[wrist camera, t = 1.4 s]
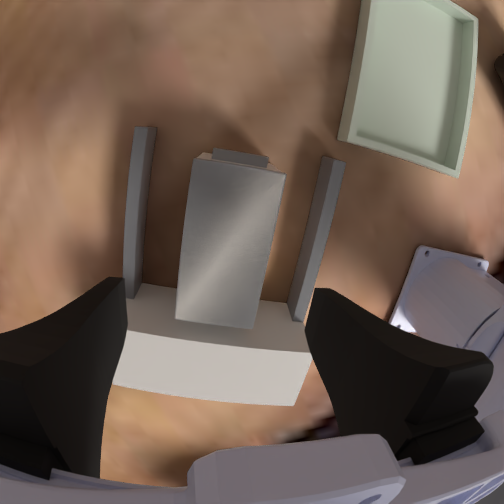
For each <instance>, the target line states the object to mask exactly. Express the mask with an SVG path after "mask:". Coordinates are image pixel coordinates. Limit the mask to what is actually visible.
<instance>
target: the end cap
mask: <svg viewBox="0 0 504 504" xmlns="http://www.w3.org/2000/svg"><path fill="white" fill-rule="evenodd" d="M495 69H496V71H497V73H498V74H499V76H500V78H501V80H502V82H503V84H504V54H503V55H502V56H499V57H498V58H497V59H496V61H495Z"/></svg>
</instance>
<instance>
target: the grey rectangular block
mask: <svg viewBox="0 0 504 504" xmlns="http://www.w3.org/2000/svg"><path fill="white" fill-rule="evenodd" d="M268 159H269V157H267V156H262V155H256V154H251V153H245V152H239V151H233V150H227V149H220V148H213V153H212V154H211V153H204V152H203V153H202V154H201V155H199V156H198V157H197V158H194V159H193V165H192V171H191V178H190V185H189V192H188V199H187V206H186V214H185V222H184V230H183V238H182V247H181V256H180V265H179V275H178V286H177V297H176V308H175V319H178V320H184V321H191V322H198V323H205V324H213V325H220V326H228V327H236V328H245V329H253V325H254V321H255V317H256V312H257V308H258V303H259V299H260V295H261V290H262V286H263V281H264V277H265V272H266V268H267V263H268V259H269V254H270V250H271V245H272V241H273V236H274V231H275V227H276V222H277V218H278V213H279V208H280V204H281V199H282V194H283V189H284V185H285V180H286V175H287V174H286V173H283V172H281V171H280V170H279V169H277V168H276V167H275V166H274V165H272V164H270V163H268Z"/></svg>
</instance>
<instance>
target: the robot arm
mask: <svg viewBox="0 0 504 504" xmlns="http://www.w3.org/2000/svg"><path fill="white" fill-rule="evenodd" d="M426 251H427V253H426V254H425V252H426ZM488 265H489V263H488V261H487V260H485V259H481V258H477V257H472V256H468V255H464V254H459V253H455V252H450V251H446V250H441V249H437V248H432V247H428V246H423V245H421V246H419V247H418V248H417V249H416V252H415V255H414V258H413V261H412V263H411V266H410V269H409V272H408V275H407V277H406V280H405V283H404V285H403V288H402V291H401V293H400V296H399V298H398V301H397V303H396V306H395V308H394V311H393V313H392V315H391V318H390V320H389V322H388V323H387V322H386V321H384V320H382V319H380V318H378V317H377V316H375V315H373V314H372V313H370V312H368V311H367V310H365V309H363V308H362V307H360V306H359V305H357V304H355V303H354V302H352V301H351V300H349V299H348V298H346V297H344V296H343V295H341V294H339V293H338V292H336V291H334V290H332V289H330V288H315V290H314V294H313V298H312V302H311V306H310V310H309V315H308V318H307V322H306V326H305V330H304V331H305V335H306V339H307V343H308V347H309V350H310V353H311V356H312V358H313V360H314V362H315V365H316V367H317V369H318V372H319V374H320V376H321V378H322V381H323V383H324V385H325V387H326V390H327V392H328V394H329V397H330V400H331V402H332V406H333V409H334V413H335V416H336V419H337V423H338V427H339V431H340V435H341V437H337V438H330V439H323V440H316V441H308V442H299V443H289V444H277V445H262V446H243V447H236V448H230V449H223V450H217V451H215V452H212V453H210V454H208V455H206V456H203V457H201V458H199V459H197V460H196V461H194V462H193V464H192V466H191V467H190V469H189V471H188V472H187V485H188V486H184V487H161V486H150V485H140V484H132V483H124V482H117V481H111V480H105V479H100V459H101V444H102V435H103V426H104V418H105V412H106V405H107V399H108V395H109V391H110V388H111V385H112V381H113V378H114V375H115V372H116V369H117V366H118V363H119V360H120V356H121V353H122V350H123V347H124V343H125V338H126V333H127V327H128V317H127V306H126V292H125V278H118V277H108V278H106V279H105V280H103V281H102V282H100V283H99V284H97V285H96V286H94V287H93V288H92V289H90V290H89V291H87V292H86V293H84V294H83V295H81V296H80V297H79V298H77V299H75V300H74V301H72V302H71V303H69V304H67V305H66V306H64V307H63V308H61V309H59V310H58V311H56V312H54V313H52V314H50V315H48V316H46V317H44V318H42V319H40V320H38V321H35V322H33V323H30V324H28V325H25V326H23V327H20V328H18V329H15V330H11V331H8V332H5V333H1V334H0V504H474V503H476V502H477V501H479V500H480V499H482V498H483V497H485V496H487V495H488V494H490V493H491V492H492V491H494V490H495V489H496V488H497V487H499V486H500V485H501V484H502V483H503V482H504V285H503V284H502V283H501V282H499V281H498V280H497V279H495V278H494V277H492V276H491V275H490V274H488V273H487V272H486V271H487V268H488ZM397 325H398V326H397ZM396 326H397V327H396ZM408 332H417V333H418V334H419V336H420V337H418V336H416V335H413V334H411V333H408Z"/></svg>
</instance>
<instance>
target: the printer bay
mask: <svg viewBox="0 0 504 504" xmlns="http://www.w3.org/2000/svg"><path fill="white" fill-rule="evenodd" d="M156 132H157V128H156V127H143V126H135V130H134V136H133V144H132V151H131V160H130V168H129V178H128V188H127V199H126V213H125V228H124V250H123V278H125V292H126V306H127V317H128V327H127V333H126V338H125V343H124V347H123V350H122V353H121V356H120V360H119V363H118V366H117V369H116V372H115V375H114V378H113V384H114V385H119V386H123V387H128V388H133V389H139V390H144V391H149V392H155V393H161V394H167V395H174V396H181V397H188V398H195V399H203V400H212V401H222V402H233V403H245V404H260V405H281V406H294V404H295V401H296V399H297V396H298V394H299V392H300V389H301V387H302V384H303V382H304V379H305V376H306V374H307V371H308V369H309V366H310V364H311V361H312V356H311V353H310V350H309V347H308V343H307V339H306V335H305V331H304V330H305V326H304V323H303V321H304V318H305V315H306V311H307V308H308V305H309V302H310V298H311V295H312V292H313V288H314V285H315V281H316V278H317V274H318V271H319V267H320V264H321V260H322V257H323V253H324V250H325V246H326V242H327V238H328V235H329V231H330V227H331V223H332V219H333V215H334V212H335V208H336V204H337V200H338V195H339V191H340V187H341V183H342V179H343V174H344V170H345V166H346V162H343V161H340V160H337V159H334V158H330V157H326V156H322V160H321V165H320V169H319V174H318V178H317V183H316V187H315V192H314V196H313V200H312V204H311V209H310V213H309V217H308V221H307V225H306V230H305V234H304V238H303V242H302V246H301V250H300V254H299V258H298V262H297V265H296V269H295V273H294V277H293V281H292V285H291V288H290V292H289V296H288V300H287V303H281V302H273V301H265V300H259V303H258V308H257V312H256V317H255V321H254V325H253V329H245V328H236V327H228V326H220V325H213V324H205V323H198V322H191V321H184V320H178V319H175V308H176V297H177V288H171V287H164V286H158V285H152V284H146V283H142V272H143V253H144V238H145V225H146V214H147V203H148V193H149V184H150V176H151V168H152V160H153V153H154V145H155V139H156Z"/></svg>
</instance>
